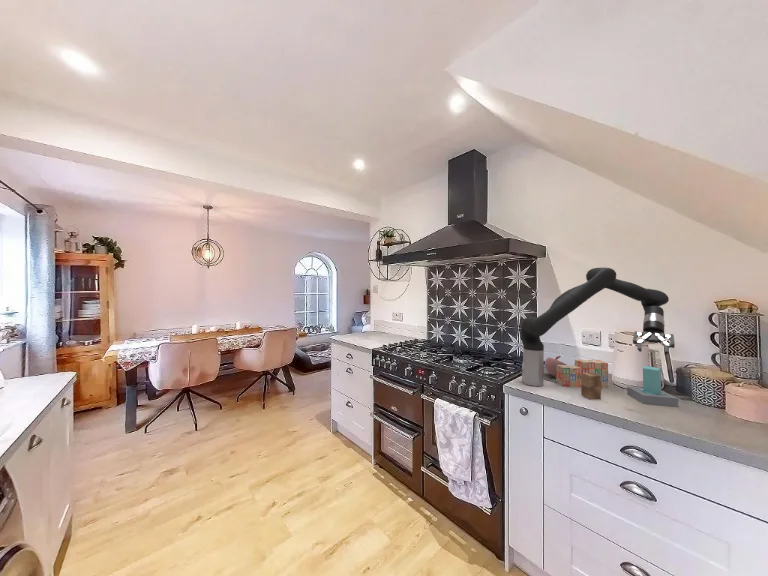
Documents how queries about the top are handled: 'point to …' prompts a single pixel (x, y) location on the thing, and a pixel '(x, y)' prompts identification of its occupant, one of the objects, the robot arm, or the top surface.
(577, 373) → the stack of blocks
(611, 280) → the robot arm
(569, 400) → the top surface
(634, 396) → the grey square base
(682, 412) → the top surface
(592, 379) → the walnut block
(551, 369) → the pink apple
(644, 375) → the teal block
